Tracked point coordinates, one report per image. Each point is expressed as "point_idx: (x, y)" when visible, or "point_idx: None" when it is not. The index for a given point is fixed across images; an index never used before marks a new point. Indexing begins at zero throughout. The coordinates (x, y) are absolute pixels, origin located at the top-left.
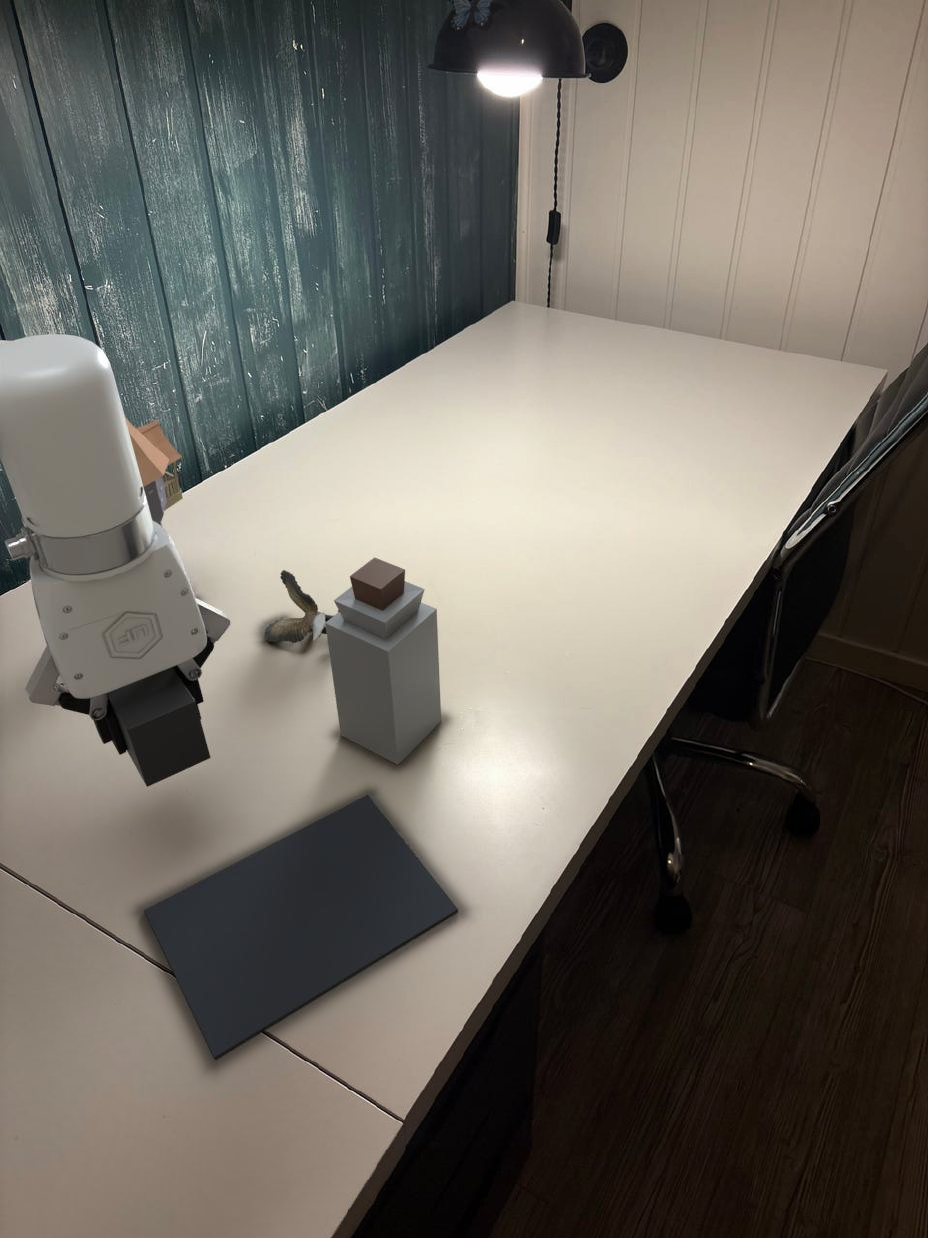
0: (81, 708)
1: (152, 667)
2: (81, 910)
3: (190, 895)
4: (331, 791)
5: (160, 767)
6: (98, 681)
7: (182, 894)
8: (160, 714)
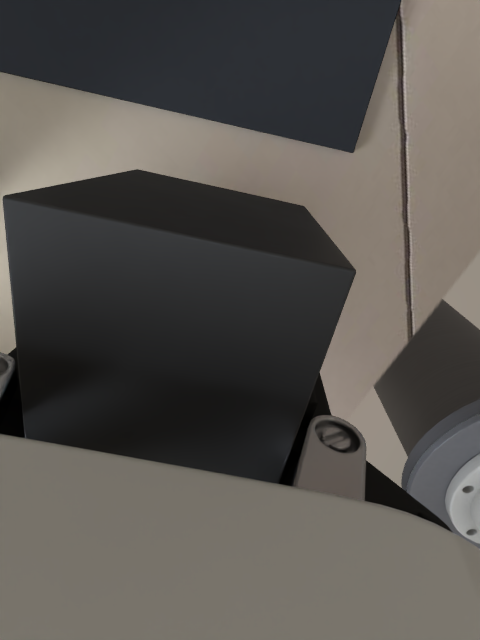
0: (378, 484)
1: (37, 493)
2: (400, 224)
3: (294, 119)
4: (23, 128)
5: (261, 202)
6: (416, 626)
7: (300, 131)
8: (186, 241)
